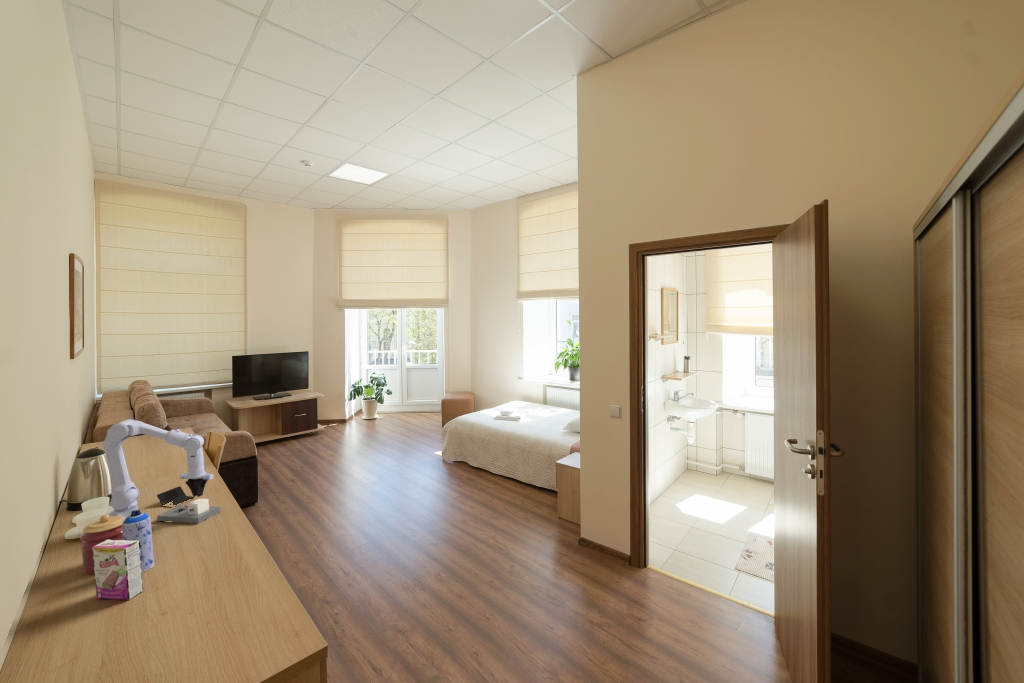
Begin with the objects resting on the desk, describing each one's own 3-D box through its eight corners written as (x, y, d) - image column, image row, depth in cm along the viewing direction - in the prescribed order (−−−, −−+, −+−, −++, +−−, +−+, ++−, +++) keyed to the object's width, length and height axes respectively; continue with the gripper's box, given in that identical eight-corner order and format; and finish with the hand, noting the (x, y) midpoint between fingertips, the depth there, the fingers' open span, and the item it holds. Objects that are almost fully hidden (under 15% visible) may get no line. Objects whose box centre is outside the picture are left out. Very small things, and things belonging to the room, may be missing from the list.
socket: (198, 523, 186) (198, 516, 185) (157, 521, 189) (156, 514, 189) (220, 512, 196) (219, 505, 196) (180, 510, 200) (180, 503, 200)
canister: (75, 569, 153) (71, 519, 152) (122, 551, 164) (118, 504, 163) (92, 578, 147) (88, 526, 146) (140, 559, 158) (136, 510, 157)
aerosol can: (119, 576, 147) (114, 517, 146) (132, 564, 155) (128, 507, 154) (147, 572, 149) (143, 513, 148) (159, 560, 157) (155, 504, 156)
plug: (195, 520, 187) (194, 505, 187) (186, 520, 188) (185, 505, 188) (209, 513, 194) (208, 498, 194) (200, 513, 195) (199, 498, 195)
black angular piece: (176, 504, 203) (165, 486, 205) (164, 514, 204) (153, 496, 205) (197, 497, 215) (186, 480, 216) (186, 507, 215) (175, 490, 217)
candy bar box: (95, 600, 135) (90, 547, 134) (111, 590, 140) (107, 538, 139) (129, 601, 134) (124, 547, 133) (144, 591, 139) (140, 539, 138)
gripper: (218, 461, 193) (220, 492, 194) (189, 461, 196) (191, 491, 197) (204, 467, 187) (206, 499, 187) (174, 466, 189) (176, 498, 190)
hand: (198, 495), depth 191 cm, fingers closed
